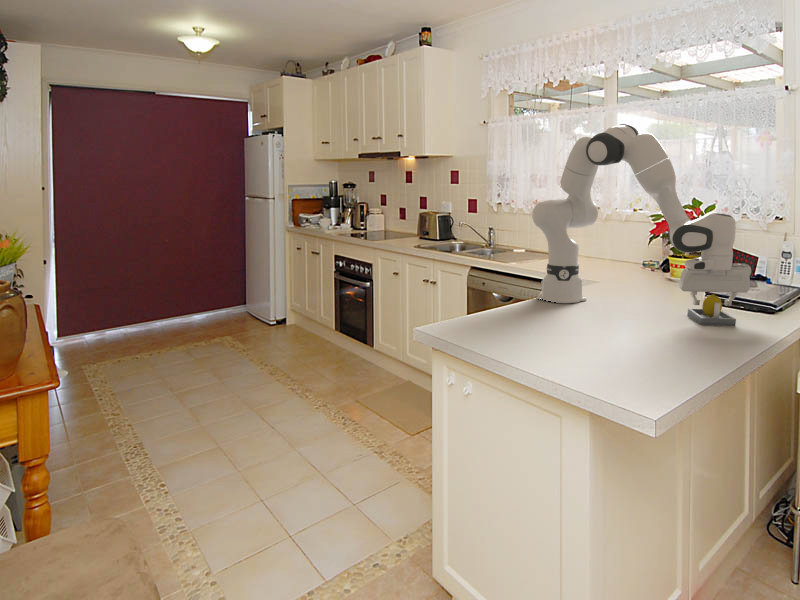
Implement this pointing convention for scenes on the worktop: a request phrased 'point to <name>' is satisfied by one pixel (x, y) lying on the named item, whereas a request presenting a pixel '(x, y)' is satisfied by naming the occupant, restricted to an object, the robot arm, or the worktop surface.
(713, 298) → the lemon
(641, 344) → the worktop surface
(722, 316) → the tray
